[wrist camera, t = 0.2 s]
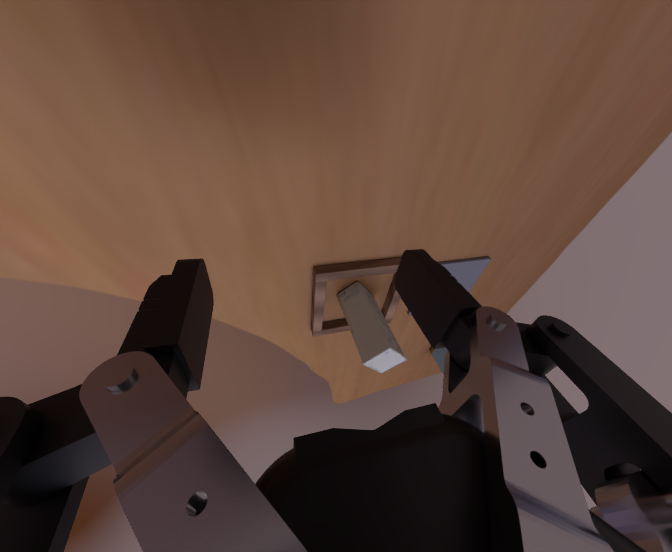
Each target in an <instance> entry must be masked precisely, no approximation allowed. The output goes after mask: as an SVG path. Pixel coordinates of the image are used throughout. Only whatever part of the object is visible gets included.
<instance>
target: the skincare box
mask: <svg viewBox="0 0 672 552" xmlns="http://www.w3.org/2000/svg"><path fill="white" fill-rule="evenodd" d="M337 298H338V300H339V303H340V305H341V308H342V310H343V313H344V315H345V318H346V320H347V323H348V326H349V328H350V331H351V333H352V336H353V338H354V341H355V344H356V346H357V349H358V351H359V354H360V356H361V359H362V362H363V364H364V365H366V366H367V367H369V368H371V369H373V370H376V371H378V372H380V373H383V372H385V371H387V370H389V369H390V368H392V367H394V366H396V365H398V364H400V363H401V362H403V361H405V360H406V357H405V355H404V354H403V352H402V350H401V348H400V346H399V344H398V342H397V340H396V338H395V337H394V335H393V333H392V331H391V329H390V327H389V325H388V323H387V321H386V320H385V318H384V316H383V314H382V312H381V310H380V308H379V306H378V304H377V303H376V301H375V299H374V297H373V296H372V295H371V294H370V292H369V291H368V290H367V289H366V288H365V287H364V286H363V285H362V284H360V283H359V282H358V281H357V282H355V283H354V284H352V285H351V286H349V287H348V288H346V289H345V290H343V291H342V292H341V293H339V294H338V295H337Z"/></svg>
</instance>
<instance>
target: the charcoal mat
mask: <svg viewBox="0 0 672 552" xmlns="http://www.w3.org/2000/svg"><path fill="white" fill-rule="evenodd" d="M490 260H491V258H490V257H480V258H471V259H463V260H454V261H446V262H438V263H439V264H441V265H442V266H444V267H445V268H446V269H447V270H448V271H449V272H450V273H451V274H452V276H454V277H455V279H456V280H457V281H458V283H460V284H461V285H462V286H463V287H464V288H465V289H466V290H467V291H468V292H469V291H470V289H471V288H472V286H473V285H474V283H475V282H476V280H477V279H478V277H479V276H480V274H481V273H482V271H483V270H484V268H485V267H486V266H487V264H488V263H489V261H490ZM407 313H408V315H412V314H411V313H410V311H409V310H408V312H407Z"/></svg>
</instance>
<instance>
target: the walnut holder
mask: <svg viewBox="0 0 672 552" xmlns="http://www.w3.org/2000/svg"><path fill="white" fill-rule="evenodd" d="M401 258H402V257H399V258H389V259H380V260H371V261H361V262H352V263H342V264H333V265H323V266H314V270H313V295H312V321H311V331H312V335H313V337H314V336H320V335H325V334H331V333H337V332H342V331H348V330H350V328H349V326H348V323H347V320H346V319H340V320H334V321H328V322H322V321H323V310H324V299H325V288H326V281H330V280H338V279H346V278H354V277H362V276H370V275H379V274H387V273H395V275H396V272H397V269H398V266H399V263H400V261H401ZM395 275H394V278H395ZM394 278H393V281H392V284H391V287H390V289H389V292H388V295H387V298H386V301H385V304H384V307H383V310H382V314H383V316H384V318H385V320H386V321H387V323H390V322H391V320H392V317H393V315H394V312H395V310H396V307H397V305H398V302H399V300H400V295H399V294H398V292H397V291H396V289H395V285H394Z"/></svg>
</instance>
